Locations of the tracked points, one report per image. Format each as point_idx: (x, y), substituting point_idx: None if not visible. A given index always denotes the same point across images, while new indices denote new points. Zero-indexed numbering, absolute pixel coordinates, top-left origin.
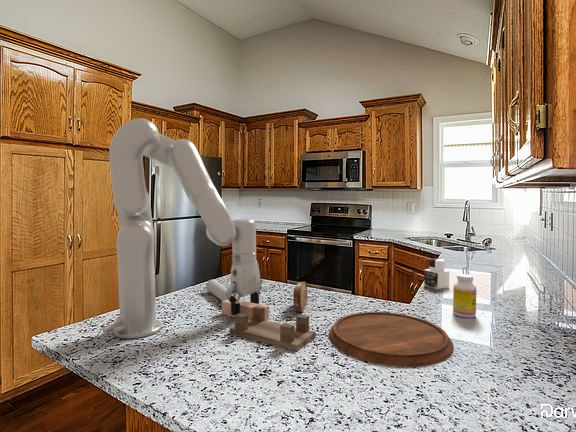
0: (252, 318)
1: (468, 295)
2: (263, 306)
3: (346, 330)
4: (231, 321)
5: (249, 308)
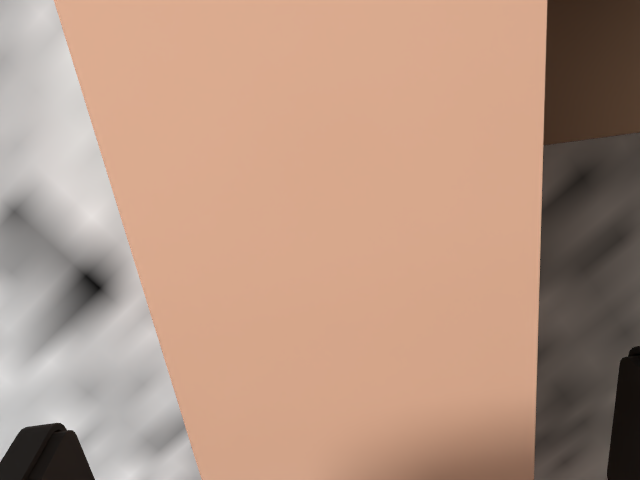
0: (580, 82)
1: None
2: (228, 74)
3: None
4: None
5: (527, 332)
